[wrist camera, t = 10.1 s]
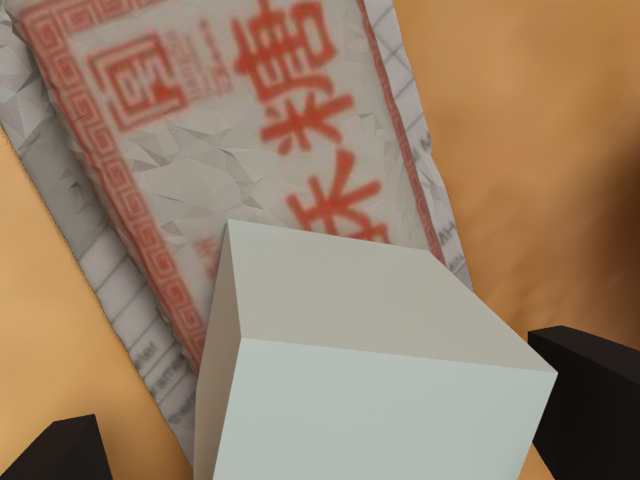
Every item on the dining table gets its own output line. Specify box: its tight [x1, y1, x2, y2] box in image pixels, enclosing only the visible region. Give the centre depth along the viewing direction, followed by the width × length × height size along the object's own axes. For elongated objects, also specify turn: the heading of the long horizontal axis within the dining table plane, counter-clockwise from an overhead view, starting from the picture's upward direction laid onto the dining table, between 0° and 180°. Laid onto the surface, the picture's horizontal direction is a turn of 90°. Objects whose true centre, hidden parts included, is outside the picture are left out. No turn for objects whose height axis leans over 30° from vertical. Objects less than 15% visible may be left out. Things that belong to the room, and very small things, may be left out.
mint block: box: [193, 218, 558, 480], centre depth 10 cm, size 4×4×5 cm
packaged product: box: [0, 0, 474, 469], centre depth 15 cm, size 18×5×10 cm
